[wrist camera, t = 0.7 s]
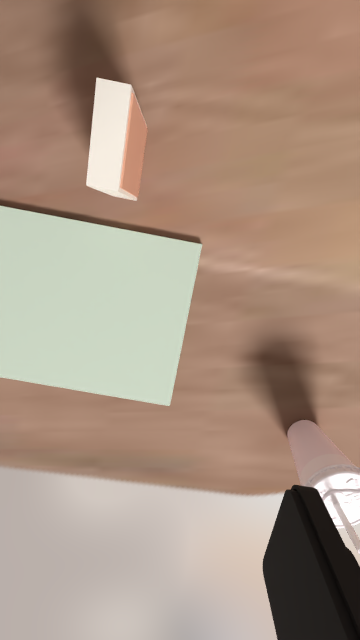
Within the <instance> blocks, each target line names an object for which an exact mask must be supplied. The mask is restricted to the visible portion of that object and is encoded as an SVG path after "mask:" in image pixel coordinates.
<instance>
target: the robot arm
mask: <svg viewBox="0 0 360 640" xmlns="http://www.w3.org/2000/svg"><path fill="white" fill-rule="evenodd" d="M263 574H264V579H265V584H266V588H267V593H268V598H269V602H270V607H271V611H272V616H273V620H274V625H275V629H276V634H277V639H278V640H360V567H359V565H358V563H357V561H356V559H355V557H354V555H353V554H352V552H351V551H350V550H349V549H348V548H347V547H345V544H344V543H343V541H342V538H341V537H340V534H339V532H338V530H337V528H336V526H335V524H334V522H333V520H332V518H331V516H330V514H329V512H328V510H327V508H326V506H325V504H324V502H323V500H322V498H321V496H320V494H319V492H318V490H317V489H316V488H314V487H307V486H300V485H293V486H292V488H291V490H286V491H285V494H284V497H283V500H282V503H281V506H280V509H279V512H278V515H277V518H276V521H275V525H274V528H273V531H272V534H271V537H270V540H269V543H268V546H267V549H266V552H265V555H264V559H263Z"/></svg>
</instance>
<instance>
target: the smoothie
mask: <svg viewBox="0 0 360 640" xmlns="http://www.w3.org/2000/svg"><path fill="white" fill-rule="evenodd" d="M287 437H288V440H289V444H290V448H291V451H292V455H293V458H294V462H295V465H296V469H297V472H298V476H299V479H300V483H301V486H307V487H314V488H316V489H317V490H318V492H319V494H320V496H321V498H322V500H323V502H324V504H325V506H326V508H327V510H328V512H329V514H330V516H331V518H332V520H333V522H334V524H335V526H336V528H345V529H346V531H347V533H348V534H349V536H350V538H351V540H352V542H353V544H354V546H355V548H356V549H357V551H358V553H359V554H360V540H359V538H358V537H357V535H356V533H355V531H354V529H353V527H352V526H353V525H355V524H358V523H359V522H360V468H358V467H356V466H355V465H354V464H353V463H352V462H351V461H350V460H349V459H348V458H347V457H346V456H345V455H344V454H343V453H342V452H341V451H340V449H339V448H338V447H337V446H336V445H335V444H334V443H333V442H332V441H331V440H330V439H329V438H328V437H327V436H326V434H325V433H324V432H323V431H322V430H321V429H320V428H319V427H318V426H317V425H316V424H315V423H314V422H312V421H309V420H300V421H297V422H295V423H294V424H292V425H291V426H290V428H289V430H288V433H287Z"/></svg>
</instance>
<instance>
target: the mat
mask: <svg viewBox="0 0 360 640" xmlns="http://www.w3.org/2000/svg"><path fill="white" fill-rule="evenodd" d="M201 247H202V244H199V243H194V242H188V241H183V240H178V239H173V238H167V237H162V236H157V235H152V234H147V233H141V232H136V231H131V230H126V229H120V228H115V227H110V226H105V225H100V224H94V223H89V222H84V221H79V220H73V219H68V218H63V217H58V216H52V215H47V214H42V213H37V212H32V211H26V210H21V209H16V208H11V207H5V206H0V377H2V378H8V379H14V380H20V381H26V382H32V383H37V384H43V385H49V386H55V387H61V388H67V389H73V390H79V391H84V392H90V393H96V394H102V395H108V396H114V397H120V398H125V399H131V400H137V401H143V402H149V403H155V404H161V405H167V406H170V402H171V397H172V392H173V387H174V382H175V377H176V372H177V367H178V362H179V357H180V352H181V347H182V342H183V337H184V332H185V327H186V322H187V317H188V312H189V307H190V302H191V297H192V292H193V287H194V282H195V277H196V272H197V267H198V262H199V257H200V252H201Z"/></svg>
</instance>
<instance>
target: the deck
mask: <svg viewBox="0 0 360 640" xmlns="http://www.w3.org/2000/svg"><path fill="white" fill-rule="evenodd" d="M147 130H148V129H147V125H146V122H145V120H144V117H143V115H142V112H141V109H140V107H139V104H138V101H137V99H136V96H135V93H134V91H133V88H132V86H131V85H130V84H125V83H120V82H116V81H111V80H106V79H101V78H96V89H95V99H94V110H93V120H92V130H91V141H90V151H89V162H88V172H87V183H86V185H87V186H89V187H92V188H94V189H97V190H99V191H102V192H104V193H107V194H109V195H112V196H114V197H120V198H125V199H130V200H135V201H137V197H138V194H139V187H140V180H141V173H142V166H143V158H144V151H145V144H146V137H147Z"/></svg>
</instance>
